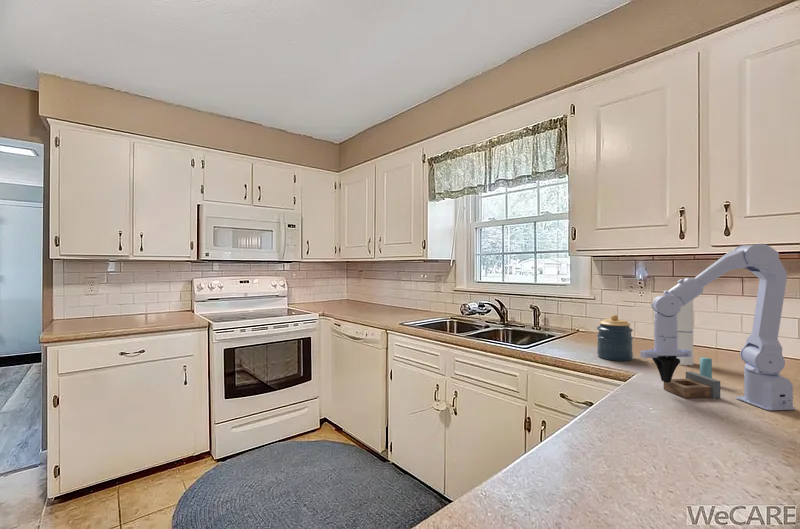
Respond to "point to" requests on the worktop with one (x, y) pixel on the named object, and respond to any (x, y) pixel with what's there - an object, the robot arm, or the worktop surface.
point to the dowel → (706, 367)
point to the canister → (614, 339)
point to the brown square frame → (688, 388)
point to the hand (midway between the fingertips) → (666, 381)
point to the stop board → (706, 382)
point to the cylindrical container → (685, 332)
